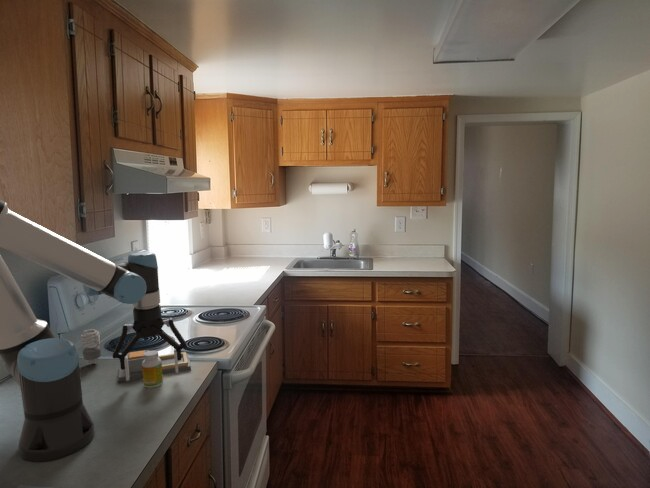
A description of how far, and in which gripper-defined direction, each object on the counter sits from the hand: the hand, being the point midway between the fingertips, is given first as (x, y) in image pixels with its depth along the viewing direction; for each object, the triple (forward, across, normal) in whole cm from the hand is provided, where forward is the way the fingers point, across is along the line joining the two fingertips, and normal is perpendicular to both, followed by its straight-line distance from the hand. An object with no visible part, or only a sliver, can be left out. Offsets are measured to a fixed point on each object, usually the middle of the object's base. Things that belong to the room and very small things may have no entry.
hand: (152, 375), depth 134 cm
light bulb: (+3, +19, -24) cm, 30 cm away
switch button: (0, +4, -11) cm, 12 cm away
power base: (+3, -1, -11) cm, 11 cm away
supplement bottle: (+3, 0, 0) cm, 3 cm away
